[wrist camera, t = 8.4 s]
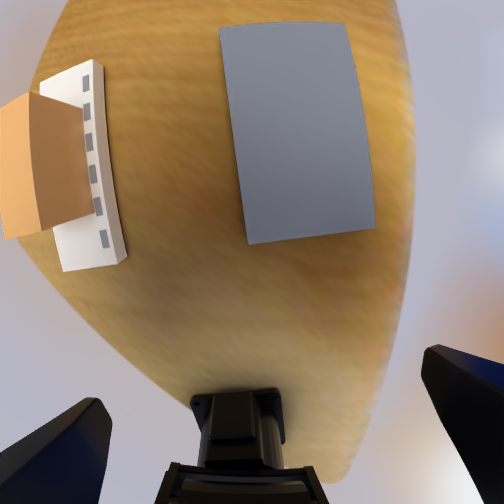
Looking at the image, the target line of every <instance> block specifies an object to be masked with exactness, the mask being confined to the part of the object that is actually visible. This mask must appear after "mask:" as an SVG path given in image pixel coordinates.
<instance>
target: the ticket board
mask: <svg viewBox="0 0 504 504" xmlns="http://www.w3.org/2000/svg"><path fill="white" fill-rule="evenodd" d="M219 35H220V42H221V50H222V57H223V65H224V72H225V79H226V87H227V94H228V102H229V109H230V116H231V124H232V131H233V138H234V146H235V153H236V160H237V168H238V175H239V182H240V189H241V197H242V204H243V211H244V218H245V226H246V233H247V240H248V245H252V244H259V243H267V242H274V241H282V240H289V239H297V238H304V237H312V236H320V235H327V234H335V233H343V232H350V231H358V230H366V229H374V228H375V208H374V193H373V181H372V171H371V161H370V152H369V144H368V136H367V129H366V123H365V116H364V110H363V104H362V98H361V93H360V88H359V82H358V78H357V73H356V68H355V64H354V59H353V55H352V51H351V46H350V42H349V39H348V35H347V31H346V27H345V24H344V23H330V22H274V23H258V24H246V25H237V26H228V27H221V28H219Z"/></svg>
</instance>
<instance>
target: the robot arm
mask: <svg viewBox="0 0 504 504" xmlns="http://www.w3.org/2000/svg"><path fill="white" fill-rule="evenodd" d="M421 378H422V380H423V383H424V385H425V387H426V389H427V391H428V394H429V396H430V398H431V400H432V403H433V405H434V407H435V409H436V412H437V414H438V416H439V418H440V420H441V422H442V424H443V426H444V428H445V429H446V431H447V433H448V435H449V437H450V438H451V440H452V442H453V444H454V445H455V447H456V449H457V451H458V453H459V455H460V456H461V458H462V460H463V462H464V464H465V466H466V468H467V470H468V472H469V474H470V476H471V478H472V480H473V481H474V484H475V485H476V488H477V489H478V492H479V494H480V496H481V498H482V500H483V502H484V504H504V364H501V363H498V362H494V361H491V360H488V359H484V358H481V357H478V356H474V355H471V354H468V353H465V352H462V351H458V350H455V349H452V348H449V347H446V346H442V345H439V344H437V345H434V346H431V347H428V348H427V349H426V350H425V351H424V356H423V363H422V369H421ZM271 395H275V396H271ZM196 402H199V403H196ZM190 405H191V408H192V410H193V413H194V416H195V418H196V421H197V423H198V426H199V429H200V431H201V441H200V449H199V457H198V464H197V466H190V465H181V464H180V463H176V462H171V464H170V467H169V470H168V471H166V473H165V475H164V478H163V481H162V484H161V487H160V489H159V492H158V495H157V497H156V500H155V503H154V504H329V502H328V500H327V498H326V495H325V493H324V491H323V489H322V486H321V484H320V482H319V480H318V477H317V475H316V473H315V470H314V468H313V466H304V467H303V468H291V469H284V462H283V454H282V447H281V445H282V444H284V443H285V432H284V423H283V414H282V405H281V396H280V392H279V390H278V389H266V390H257V391H248V392H239V393H228V394H214V395H198V396H193V397H192V398H191V400H190ZM111 431H112V419H111V417H110V415H109V413H108V412H107V410H106V408H105V406H104V405H103V403H102V401H101V400H100V399H98V398H92V397H87V398H85V399H83V400H82V401H80V402H78V403H77V404H75V405H74V406H72V407H71V408H69V409H68V410H66V411H65V412H63V413H62V414H60V415H59V416H57V417H56V418H54V419H53V420H51V421H50V422H48V423H46V424H45V425H43V426H42V427H40V428H38V429H37V430H35V431H34V432H32V433H31V434H29V435H27V436H26V437H24V438H23V439H21V440H19V441H18V442H16V443H15V444H13V445H11V446H10V447H8V448H6V449H5V450H3V451H2V452H0V504H98V501H99V497H100V493H101V488H102V484H103V479H104V475H105V471H106V466H107V458H108V452H109V444H110V437H111Z"/></svg>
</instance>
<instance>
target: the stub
mask: <svg viewBox="0 0 504 504" xmlns="http://www.w3.org/2000/svg"><path fill="white" fill-rule="evenodd" d="M0 213H1V219H2V224H3V230H4V234H5V239H6V240H9V239H13V238H17V237H20V236H24V235H28V234H32V233H36V232H39V231H43V230H46V229H48V228H51V227H53V231H54V236H55V241H56V245H57V249H58V253H59V257H60V261H61V265H62V269H63V272H66V271H73V270H80V269H87V268H94V267H101V266H108V265H115V264H118V263H120V262H121V261H122V260H124V259H125V258H126V257H127V254H126V249H125V245H124V240H123V235H122V230H121V225H120V220H119V215H118V209H117V204H116V198H115V192H114V185H113V178H112V171H111V164H110V156H109V147H108V138H107V127H106V115H105V99H104V74H103V66H102V65H101V64H99V63H98V62H96V61H95V60H93V59H92V60H89V61H87V62H84V63H82V64H79V65H77V66H75V67H72V68H70V69H68V70H65V71H63V72H61V73H59V74H57V75H55V76H53V77H51V78H49V79H47V80H45V81H43V82H41V83H40V95H39V94H36V93H33V92H27V93H25V94H24V95H22V96H20V97H18V98H17V99H15V100H13V101H11V102H10V103H8V104H7V105H5V106H3V107H2V108H0Z"/></svg>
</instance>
